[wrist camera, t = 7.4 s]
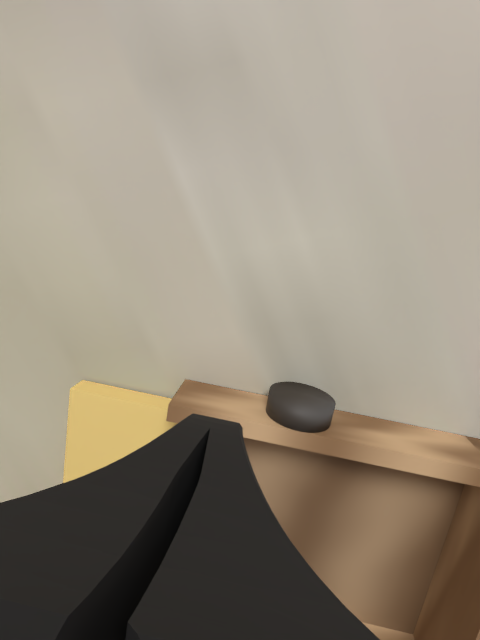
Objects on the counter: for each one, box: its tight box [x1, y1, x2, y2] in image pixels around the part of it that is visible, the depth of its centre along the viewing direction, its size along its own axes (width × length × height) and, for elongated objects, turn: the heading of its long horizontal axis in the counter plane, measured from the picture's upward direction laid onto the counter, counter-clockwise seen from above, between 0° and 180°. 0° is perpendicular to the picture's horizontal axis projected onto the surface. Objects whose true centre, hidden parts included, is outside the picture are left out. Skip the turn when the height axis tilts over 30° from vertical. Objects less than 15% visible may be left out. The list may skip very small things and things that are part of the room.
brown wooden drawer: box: [166, 379, 480, 640], centre depth 18 cm, size 15×14×5 cm
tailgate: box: [63, 380, 178, 483], centre depth 20 cm, size 1×10×6 cm
